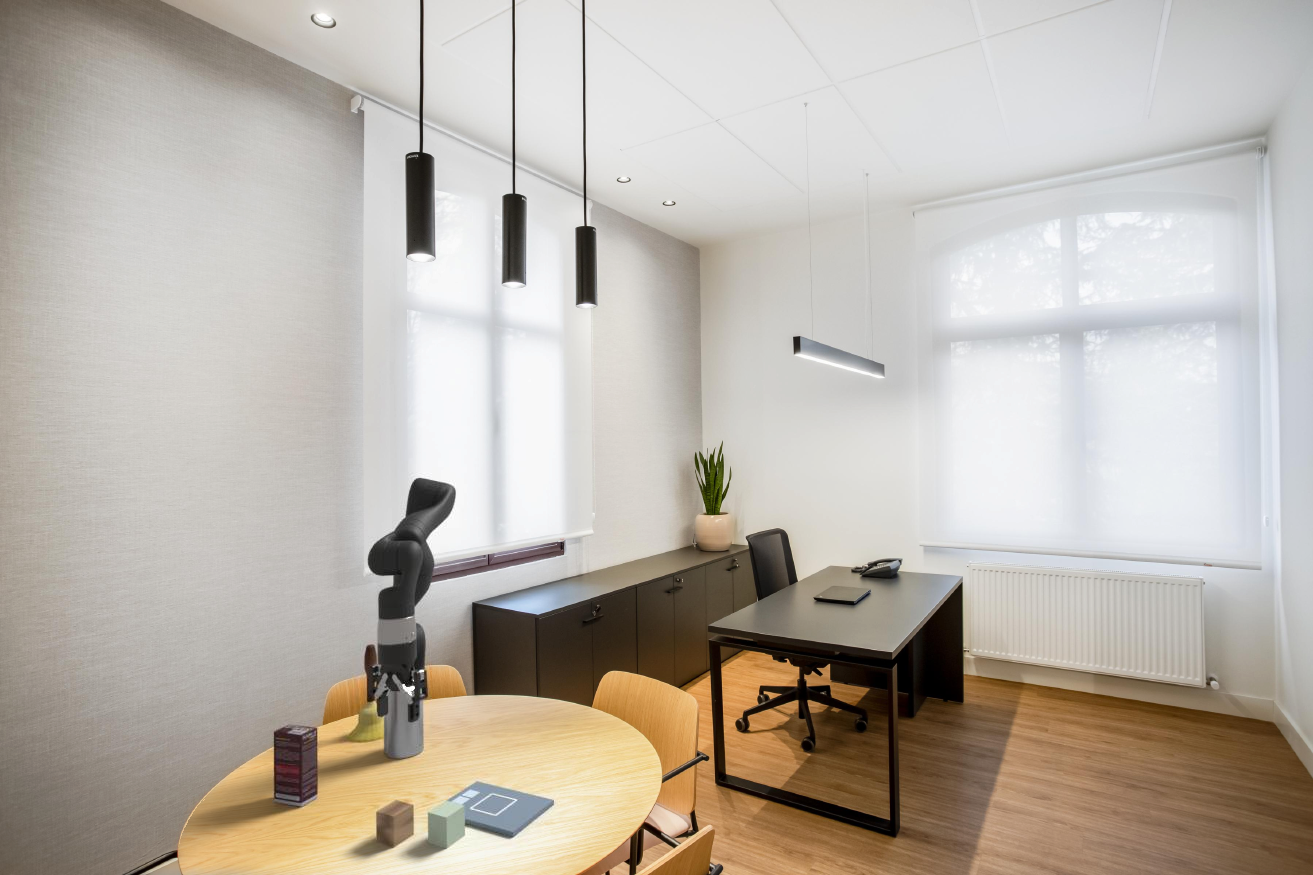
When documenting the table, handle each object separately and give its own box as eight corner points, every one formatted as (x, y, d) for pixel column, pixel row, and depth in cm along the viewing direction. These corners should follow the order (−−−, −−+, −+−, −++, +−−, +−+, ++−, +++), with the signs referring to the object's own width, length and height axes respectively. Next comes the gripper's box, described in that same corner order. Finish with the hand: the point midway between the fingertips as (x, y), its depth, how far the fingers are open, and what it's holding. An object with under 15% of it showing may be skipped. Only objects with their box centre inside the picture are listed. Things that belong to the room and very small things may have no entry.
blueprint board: (432, 813, 142) (432, 808, 142) (477, 785, 155) (477, 780, 155) (513, 836, 133) (513, 831, 133) (554, 804, 145) (553, 799, 145)
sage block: (428, 842, 131) (427, 812, 132) (446, 830, 136) (446, 800, 136) (446, 848, 129) (446, 817, 130) (464, 835, 134) (464, 805, 134)
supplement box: (319, 797, 151) (318, 726, 152) (301, 807, 147) (301, 735, 148) (290, 792, 154) (290, 723, 155) (272, 802, 150) (272, 731, 150)
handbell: (337, 739, 185) (336, 648, 186) (371, 723, 196) (371, 638, 197) (370, 745, 180) (370, 652, 181) (403, 728, 191) (403, 641, 192)
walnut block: (376, 841, 132) (376, 811, 133) (396, 829, 137) (396, 799, 137) (394, 847, 130) (393, 816, 130) (413, 834, 135) (413, 804, 135)
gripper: (357, 640, 136) (358, 720, 135) (408, 645, 129) (409, 729, 128) (386, 631, 142) (387, 708, 141) (436, 636, 136) (437, 716, 135)
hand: (398, 718), depth 135 cm, fingers open, 8 cm apart
